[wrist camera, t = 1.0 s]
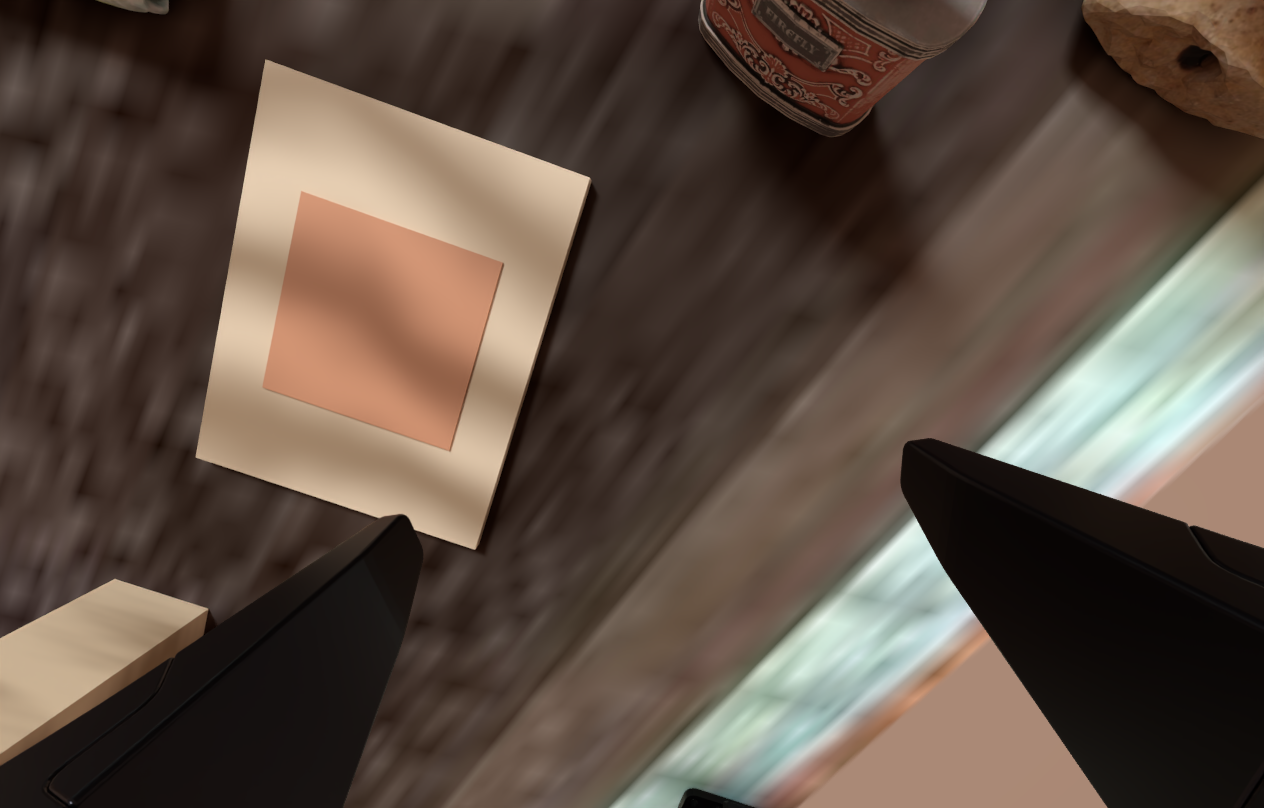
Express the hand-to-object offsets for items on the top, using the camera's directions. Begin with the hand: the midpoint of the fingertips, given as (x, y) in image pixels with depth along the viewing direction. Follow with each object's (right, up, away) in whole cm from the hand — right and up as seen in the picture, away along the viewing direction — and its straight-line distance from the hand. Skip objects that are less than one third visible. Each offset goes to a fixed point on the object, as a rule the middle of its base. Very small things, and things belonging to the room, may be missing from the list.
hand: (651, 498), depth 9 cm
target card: (-12, +5, +14) cm, 19 cm away
